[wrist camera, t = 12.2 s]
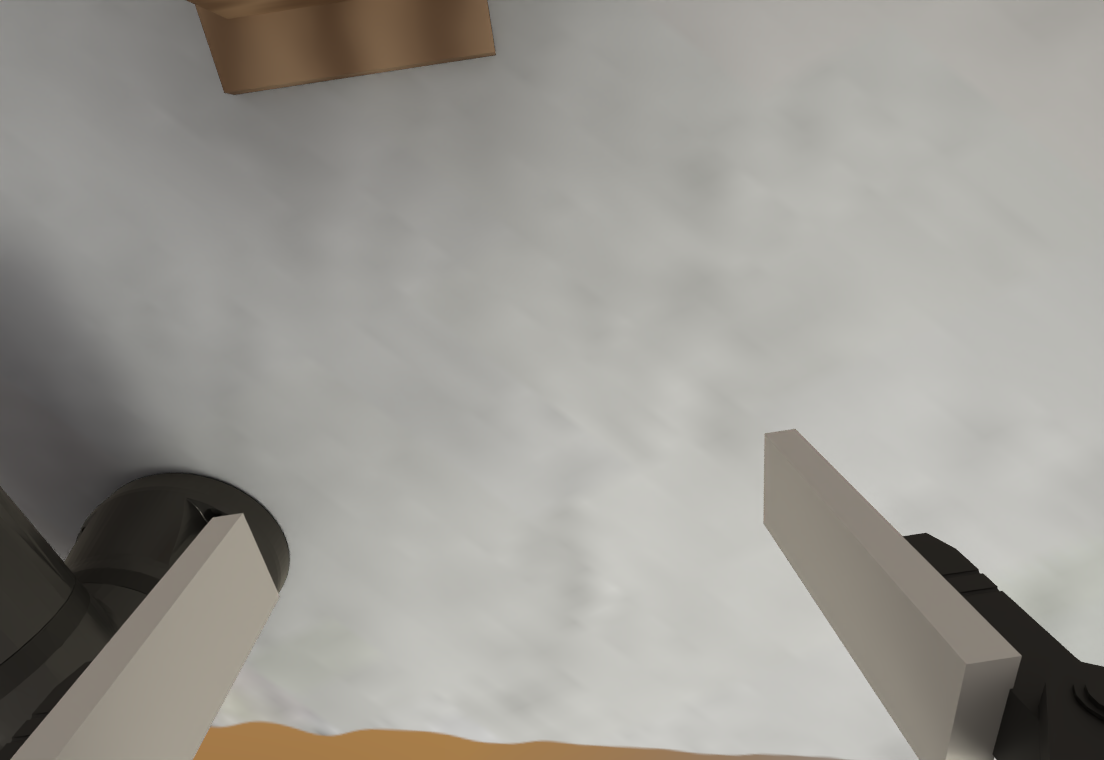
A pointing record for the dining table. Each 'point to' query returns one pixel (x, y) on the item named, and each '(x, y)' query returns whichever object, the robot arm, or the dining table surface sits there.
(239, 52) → the socket block
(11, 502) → the robot arm
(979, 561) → the dining table surface
